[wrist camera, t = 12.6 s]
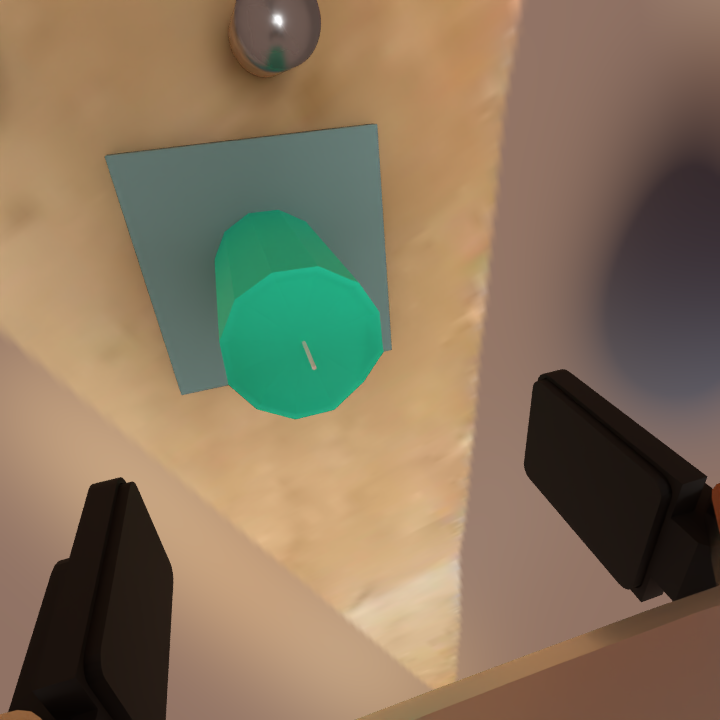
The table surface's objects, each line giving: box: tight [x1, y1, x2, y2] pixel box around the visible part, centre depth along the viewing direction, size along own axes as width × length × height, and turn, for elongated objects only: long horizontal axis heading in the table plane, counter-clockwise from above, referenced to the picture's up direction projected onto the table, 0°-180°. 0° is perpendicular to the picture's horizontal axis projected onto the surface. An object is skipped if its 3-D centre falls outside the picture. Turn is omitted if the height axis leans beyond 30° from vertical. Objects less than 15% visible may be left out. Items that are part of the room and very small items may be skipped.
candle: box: [215, 210, 383, 419], centre depth 21 cm, size 6×6×12 cm
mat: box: [105, 124, 392, 395], centre depth 27 cm, size 13×13×1 cm
